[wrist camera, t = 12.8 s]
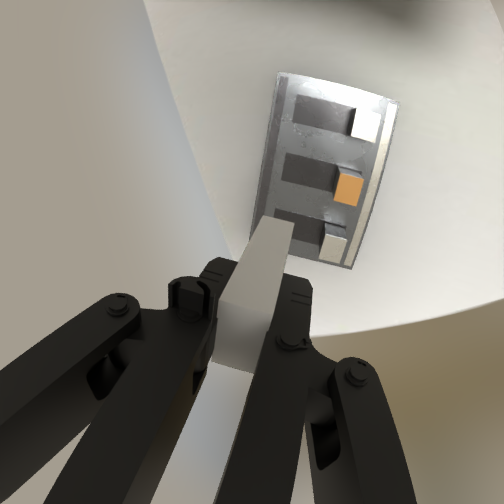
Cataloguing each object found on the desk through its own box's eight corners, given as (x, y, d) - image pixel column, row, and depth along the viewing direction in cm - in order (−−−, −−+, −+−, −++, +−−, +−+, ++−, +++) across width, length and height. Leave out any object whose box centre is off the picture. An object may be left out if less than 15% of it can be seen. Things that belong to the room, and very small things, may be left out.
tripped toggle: (338, 166, 30) (340, 173, 27) (358, 172, 30) (363, 179, 27) (331, 191, 32) (333, 200, 28) (352, 196, 31) (356, 206, 28)
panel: (280, 74, 28) (273, 65, 23) (395, 103, 27) (410, 101, 22) (251, 238, 39) (240, 259, 34) (350, 262, 38) (354, 286, 32)
